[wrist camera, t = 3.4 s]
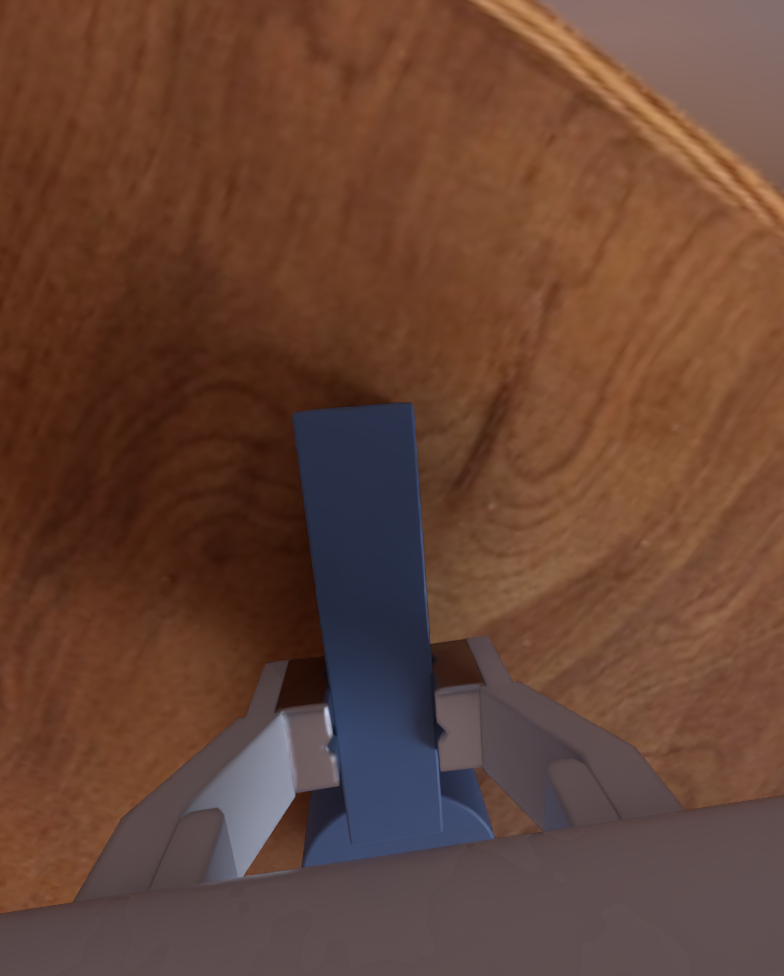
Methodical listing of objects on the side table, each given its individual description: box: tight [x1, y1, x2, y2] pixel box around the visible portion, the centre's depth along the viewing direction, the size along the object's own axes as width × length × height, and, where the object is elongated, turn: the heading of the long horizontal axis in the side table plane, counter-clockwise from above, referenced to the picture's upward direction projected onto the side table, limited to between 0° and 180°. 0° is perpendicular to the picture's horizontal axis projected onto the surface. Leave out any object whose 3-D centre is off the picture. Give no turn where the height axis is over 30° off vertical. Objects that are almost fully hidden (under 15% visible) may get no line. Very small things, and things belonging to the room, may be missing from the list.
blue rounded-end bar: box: [292, 402, 495, 868], centre depth 9 cm, size 14×5×3 cm, turn 5°
